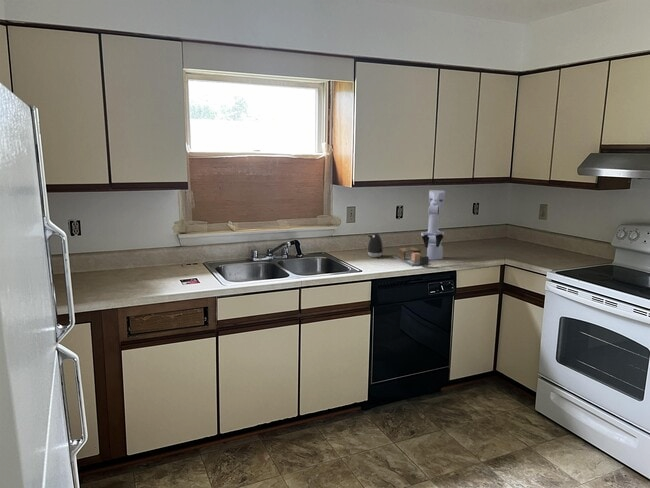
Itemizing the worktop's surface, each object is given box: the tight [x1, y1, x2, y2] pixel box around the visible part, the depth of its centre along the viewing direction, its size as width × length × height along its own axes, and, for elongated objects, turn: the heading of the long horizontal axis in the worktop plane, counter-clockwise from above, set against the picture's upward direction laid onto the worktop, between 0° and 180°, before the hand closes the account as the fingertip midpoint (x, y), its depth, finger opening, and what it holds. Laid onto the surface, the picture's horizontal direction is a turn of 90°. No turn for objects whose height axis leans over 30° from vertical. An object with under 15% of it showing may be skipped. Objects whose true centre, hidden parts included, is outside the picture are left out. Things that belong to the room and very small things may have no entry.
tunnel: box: [397, 246, 422, 260], centre depth 309 cm, size 12×8×6 cm
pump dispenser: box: [366, 232, 384, 259], centre depth 316 cm, size 10×10×15 cm
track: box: [392, 253, 431, 267], centre depth 308 cm, size 12×25×1 cm, turn 19°
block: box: [411, 252, 422, 261], centre depth 301 cm, size 4×4×4 cm
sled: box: [408, 255, 429, 266], centre depth 298 cm, size 7×15×5 cm, turn 19°
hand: (431, 247), depth 299 cm, fingers open, 7 cm apart
